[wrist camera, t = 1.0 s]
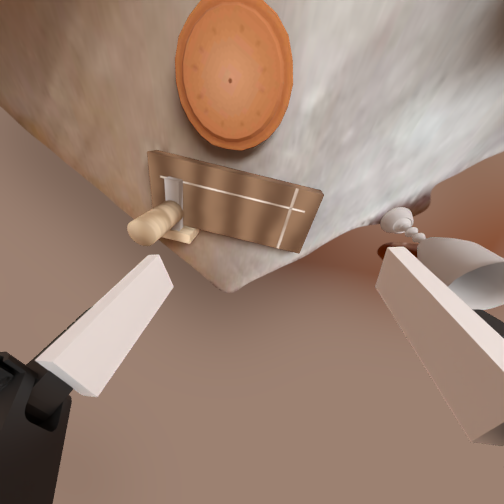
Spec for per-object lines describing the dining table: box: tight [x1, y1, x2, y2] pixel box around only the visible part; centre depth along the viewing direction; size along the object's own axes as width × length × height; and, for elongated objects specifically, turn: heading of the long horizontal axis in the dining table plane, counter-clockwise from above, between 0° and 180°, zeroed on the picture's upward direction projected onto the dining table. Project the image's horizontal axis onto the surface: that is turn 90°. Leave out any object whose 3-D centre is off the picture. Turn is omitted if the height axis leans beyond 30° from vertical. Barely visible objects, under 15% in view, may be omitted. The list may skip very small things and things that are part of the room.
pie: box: [175, 0, 293, 151], centre depth 25 cm, size 15×16×5 cm
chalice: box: [380, 207, 504, 310], centre depth 27 cm, size 7×7×18 cm
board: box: [147, 150, 324, 253], centre depth 35 cm, size 30×12×3 cm, turn 78°
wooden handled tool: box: [127, 177, 199, 246], centre depth 32 cm, size 7×11×14 cm, turn 168°
